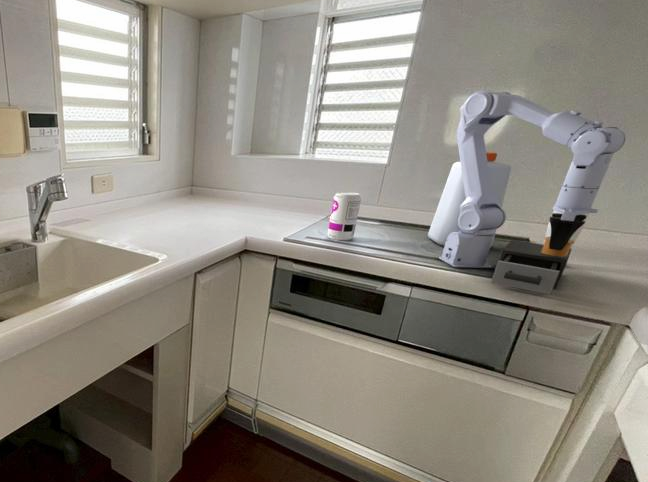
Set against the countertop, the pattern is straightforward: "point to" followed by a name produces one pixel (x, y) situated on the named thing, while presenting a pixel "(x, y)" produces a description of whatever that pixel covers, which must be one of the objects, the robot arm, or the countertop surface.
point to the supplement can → (344, 215)
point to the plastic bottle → (464, 198)
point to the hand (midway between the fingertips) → (556, 247)
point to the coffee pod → (556, 252)
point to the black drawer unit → (534, 254)
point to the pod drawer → (526, 273)
